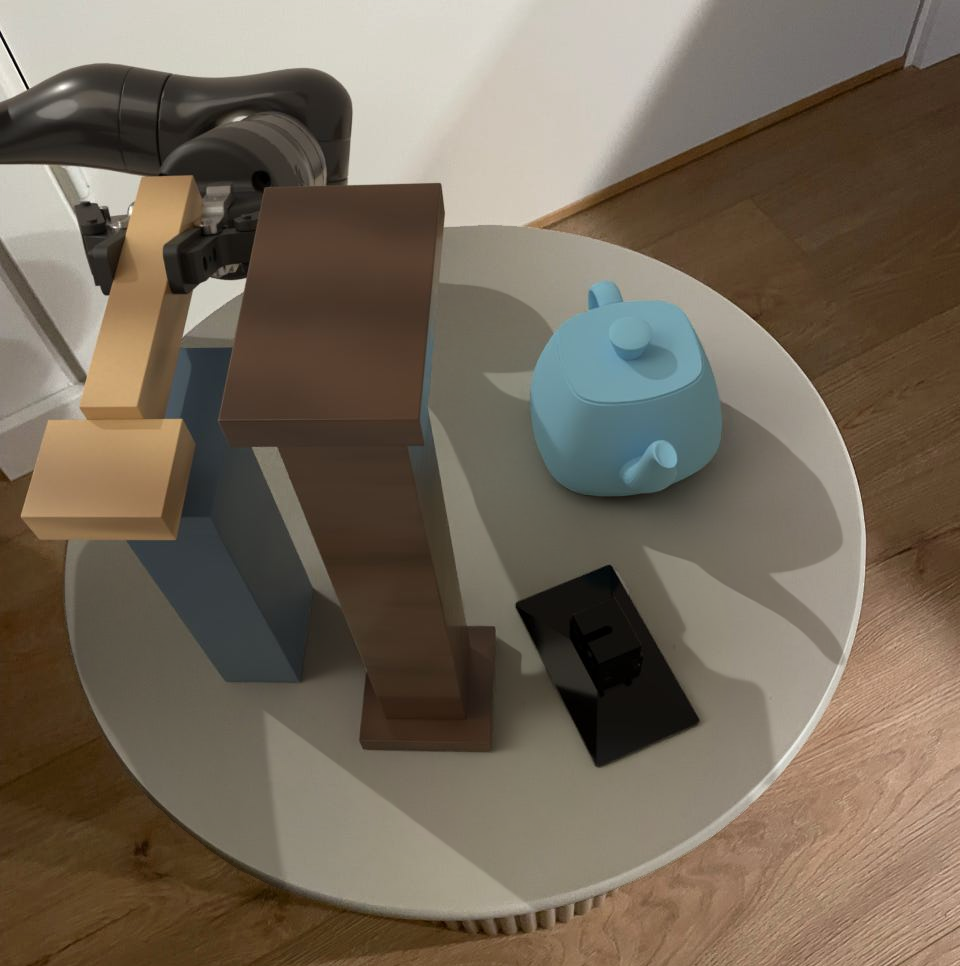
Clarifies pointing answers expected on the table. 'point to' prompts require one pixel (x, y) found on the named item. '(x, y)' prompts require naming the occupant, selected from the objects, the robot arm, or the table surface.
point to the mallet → (126, 397)
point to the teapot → (624, 398)
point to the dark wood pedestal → (365, 442)
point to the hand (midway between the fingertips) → (138, 272)
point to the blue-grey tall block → (229, 543)
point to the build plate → (606, 665)
